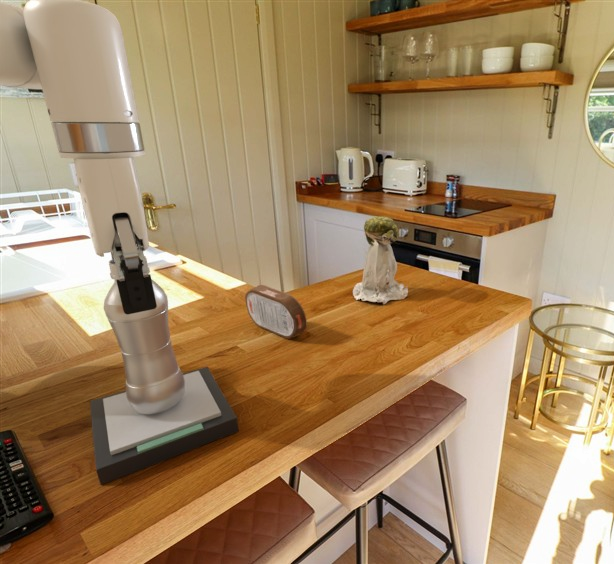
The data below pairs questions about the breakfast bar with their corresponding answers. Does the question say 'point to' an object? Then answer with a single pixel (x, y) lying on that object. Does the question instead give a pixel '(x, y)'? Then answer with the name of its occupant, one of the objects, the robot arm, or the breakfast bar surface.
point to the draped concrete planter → (380, 263)
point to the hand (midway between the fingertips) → (136, 299)
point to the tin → (276, 311)
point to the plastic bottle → (146, 351)
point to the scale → (158, 427)
